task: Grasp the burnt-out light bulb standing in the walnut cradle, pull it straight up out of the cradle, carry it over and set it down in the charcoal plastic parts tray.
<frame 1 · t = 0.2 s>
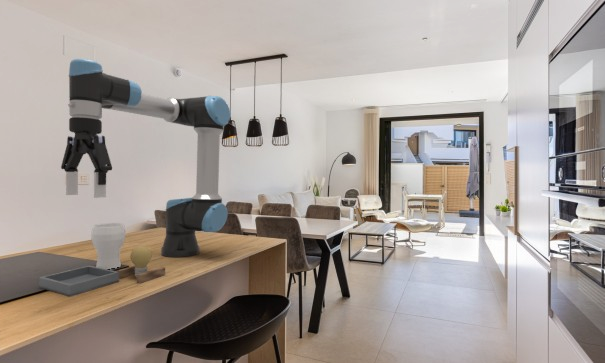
hand: (85, 196, 94), 27 cm above the kitchen island, fingers open, 13 cm apart
cup: (108, 267, 121), on the kitchen island
light bulb: (141, 277, 111), on the kitchen island
cradle: (141, 276, 111), on the kitchen island
tray: (80, 284, 103), on the kitchen island
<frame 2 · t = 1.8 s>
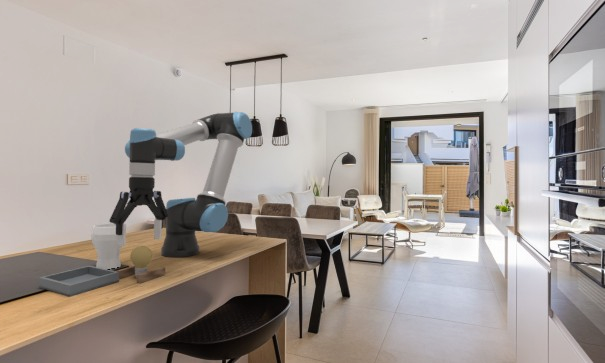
hand: (140, 242, 111), 11 cm above the kitchen island, fingers open, 13 cm apart
nothing on the kitchen island moved.
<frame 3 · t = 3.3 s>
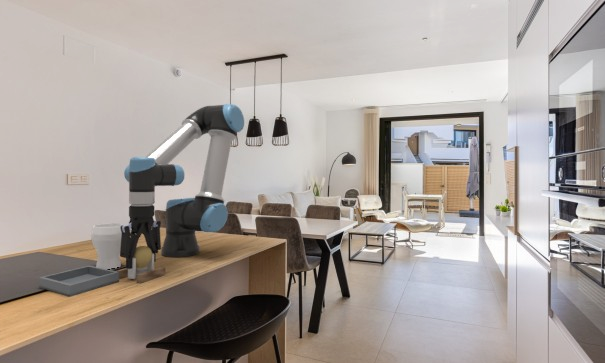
hand: (141, 275, 111), 0 cm above the kitchen island, fingers closed on light bulb, 6 cm apart
light bulb: (141, 277, 111), on the kitchen island, touching gripper
everything else where it was.
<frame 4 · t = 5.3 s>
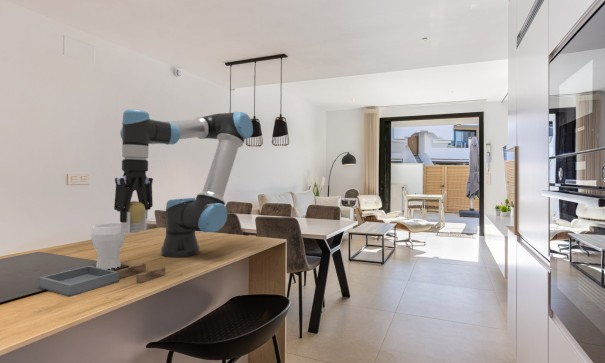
hand: (134, 230, 110), 15 cm above the kitchen island, fingers closed on light bulb, 6 cm apart
light bulb: (134, 232, 110), point 15 cm above the kitchen island, touching gripper
everything else where it was.
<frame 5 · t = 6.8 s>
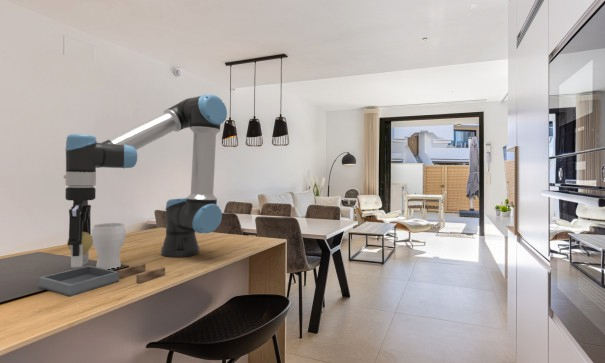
hand: (80, 263, 102), 6 cm above the kitchen island, fingers closed on light bulb, 6 cm apart
light bulb: (80, 265, 102), point 6 cm above the kitchen island, touching gripper
everything else where it was.
when the fingers open (3 cm above the kitchen island, at t = 7.6 s): light bulb drops 2 cm, resting on tray.
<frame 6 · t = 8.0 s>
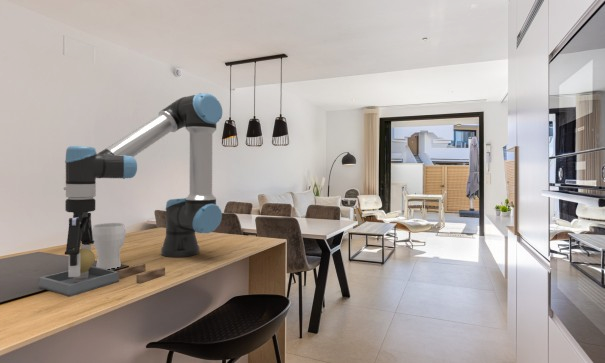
hand: (80, 270, 102), 4 cm above the kitchen island, fingers open, 11 cm apart
light bulb: (80, 282, 103), point 1 cm above the kitchen island, touching tray
everything else where it was.
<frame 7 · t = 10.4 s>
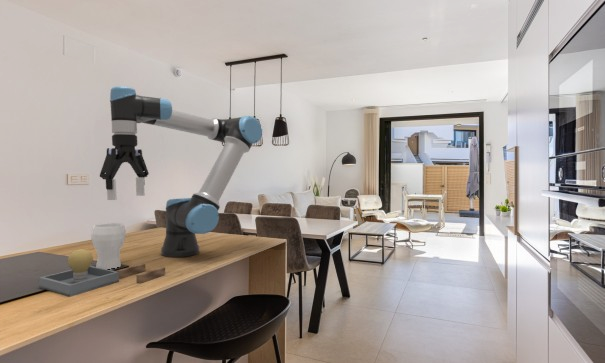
hand: (127, 197, 115), 25 cm above the kitchen island, fingers open, 13 cm apart
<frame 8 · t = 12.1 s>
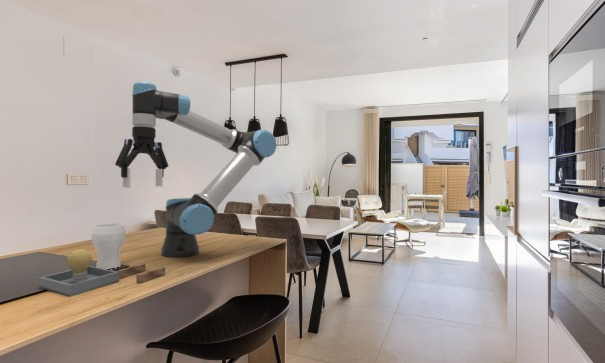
hand: (143, 187, 122), 29 cm above the kitchen island, fingers open, 13 cm apart
nothing on the kitchen island moved.
at the end: light bulb inside the target area on the tray (0.1 cm from its centre), point 0.5 cm above the tray's base; the gripper is holding nothing; light bulb moved 16.6 cm from its start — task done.
